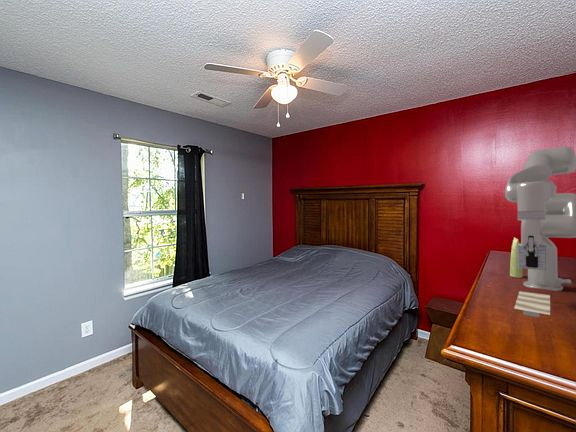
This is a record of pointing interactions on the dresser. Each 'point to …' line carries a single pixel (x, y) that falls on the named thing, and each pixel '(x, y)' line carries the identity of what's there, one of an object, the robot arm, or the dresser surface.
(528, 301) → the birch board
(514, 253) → the tube
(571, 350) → the dresser surface
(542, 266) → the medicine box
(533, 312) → the graphite tile
